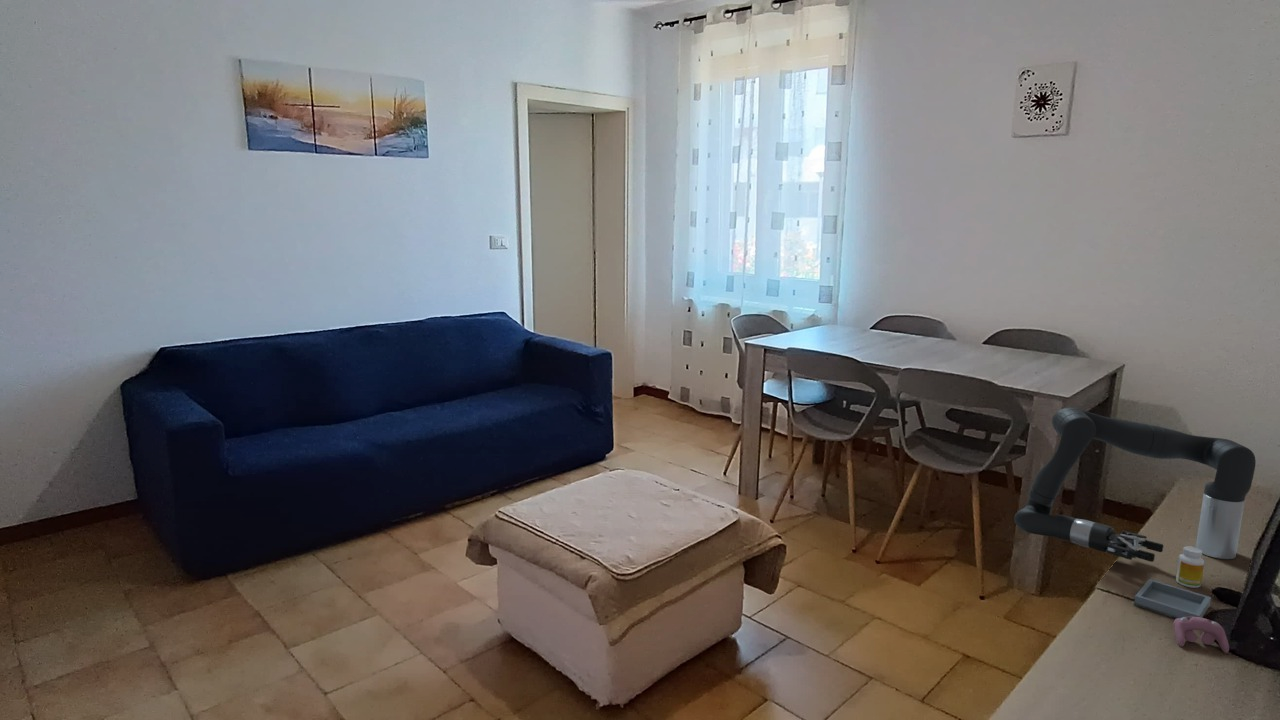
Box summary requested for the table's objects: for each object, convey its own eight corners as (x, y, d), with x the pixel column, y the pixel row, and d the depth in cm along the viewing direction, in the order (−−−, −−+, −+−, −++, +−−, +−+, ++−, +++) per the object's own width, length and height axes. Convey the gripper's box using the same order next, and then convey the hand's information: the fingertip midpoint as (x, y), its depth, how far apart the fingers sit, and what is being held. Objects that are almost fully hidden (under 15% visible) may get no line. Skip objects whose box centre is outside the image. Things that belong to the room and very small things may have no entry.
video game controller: (1222, 652, 165) (1220, 620, 166) (1231, 654, 161) (1229, 621, 162) (1171, 644, 168) (1169, 613, 170) (1179, 646, 164) (1177, 613, 165)
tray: (1148, 587, 191) (1149, 578, 190) (1209, 606, 181) (1211, 597, 181) (1133, 604, 182) (1135, 595, 182) (1197, 625, 173) (1199, 616, 172)
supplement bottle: (1205, 589, 190) (1210, 554, 188) (1181, 587, 191) (1186, 552, 189) (1194, 579, 195) (1199, 545, 193) (1171, 577, 196) (1176, 544, 194)
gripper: (1084, 529, 204) (1153, 548, 192) (1100, 515, 213) (1167, 532, 201) (1081, 554, 205) (1149, 574, 193) (1098, 539, 214) (1163, 558, 203)
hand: (1158, 553), depth 197 cm, fingers open, 8 cm apart
